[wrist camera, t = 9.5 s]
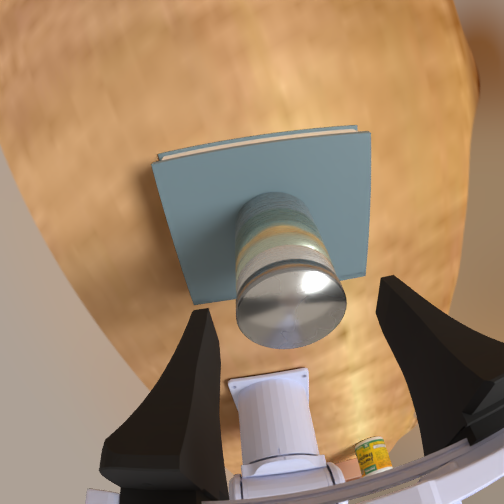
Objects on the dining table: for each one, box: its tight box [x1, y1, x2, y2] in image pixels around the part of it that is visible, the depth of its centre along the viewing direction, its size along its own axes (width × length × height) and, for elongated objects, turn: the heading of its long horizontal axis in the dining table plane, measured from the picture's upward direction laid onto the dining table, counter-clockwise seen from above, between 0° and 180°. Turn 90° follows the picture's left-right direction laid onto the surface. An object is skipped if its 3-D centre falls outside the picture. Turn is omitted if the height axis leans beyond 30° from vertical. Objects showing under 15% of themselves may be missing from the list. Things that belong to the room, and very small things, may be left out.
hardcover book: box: [151, 125, 371, 305], centre depth 20 cm, size 10×12×2 cm
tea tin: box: [235, 192, 347, 349], centre depth 16 cm, size 5×5×7 cm
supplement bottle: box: [355, 436, 393, 478], centre depth 42 cm, size 5×5×10 cm
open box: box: [335, 458, 362, 482], centre depth 54 cm, size 17×17×4 cm
